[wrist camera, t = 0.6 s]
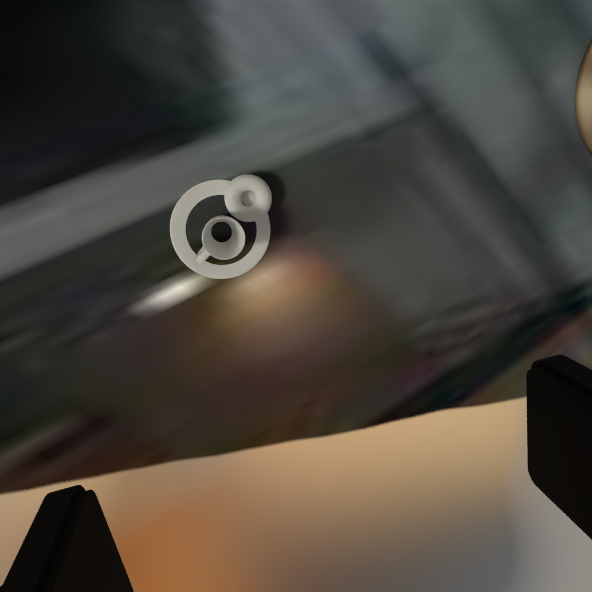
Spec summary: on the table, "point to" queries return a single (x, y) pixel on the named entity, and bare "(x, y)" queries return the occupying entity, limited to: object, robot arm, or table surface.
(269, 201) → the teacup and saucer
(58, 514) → the robot arm
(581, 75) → the plate
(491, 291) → the table surface
